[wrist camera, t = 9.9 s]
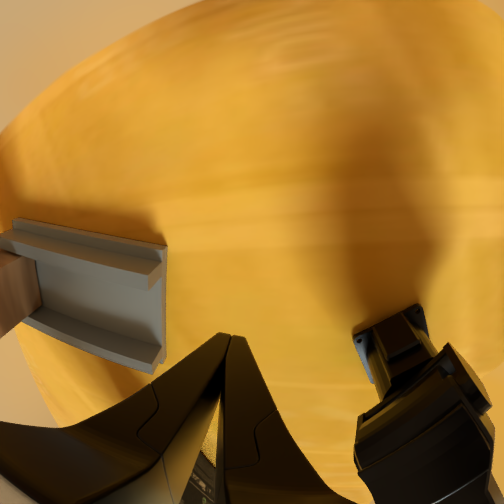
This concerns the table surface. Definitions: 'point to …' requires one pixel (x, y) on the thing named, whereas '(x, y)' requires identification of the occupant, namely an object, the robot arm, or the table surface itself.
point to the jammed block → (17, 289)
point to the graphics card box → (200, 483)
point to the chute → (97, 291)
